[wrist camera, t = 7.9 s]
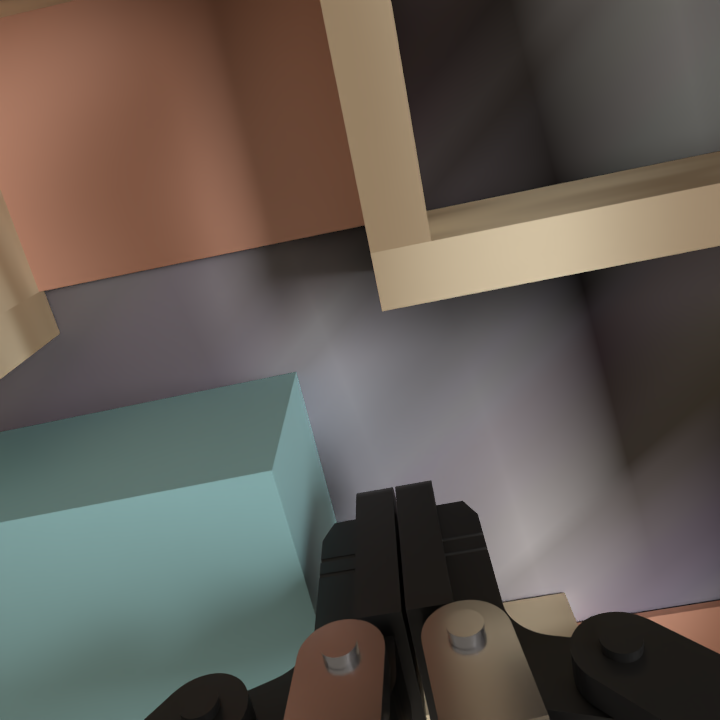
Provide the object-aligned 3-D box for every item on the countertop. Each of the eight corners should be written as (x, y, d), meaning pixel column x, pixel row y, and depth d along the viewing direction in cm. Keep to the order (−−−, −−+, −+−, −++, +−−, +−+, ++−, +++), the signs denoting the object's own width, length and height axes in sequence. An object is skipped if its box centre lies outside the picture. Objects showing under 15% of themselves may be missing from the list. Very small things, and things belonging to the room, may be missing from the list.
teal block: (296, 368, 15) (271, 470, 11) (346, 551, 17) (340, 699, 13) (3, 428, 16) (-126, 546, 12) (80, 599, 18) (-9, 756, 13)
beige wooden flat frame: (1029, -297, 11) (1440, -541, 7) (916, 743, 19) (1074, 927, 15) (-252, 16, 13) (-558, -26, 8) (136, 852, 21) (77, 1045, 16)
